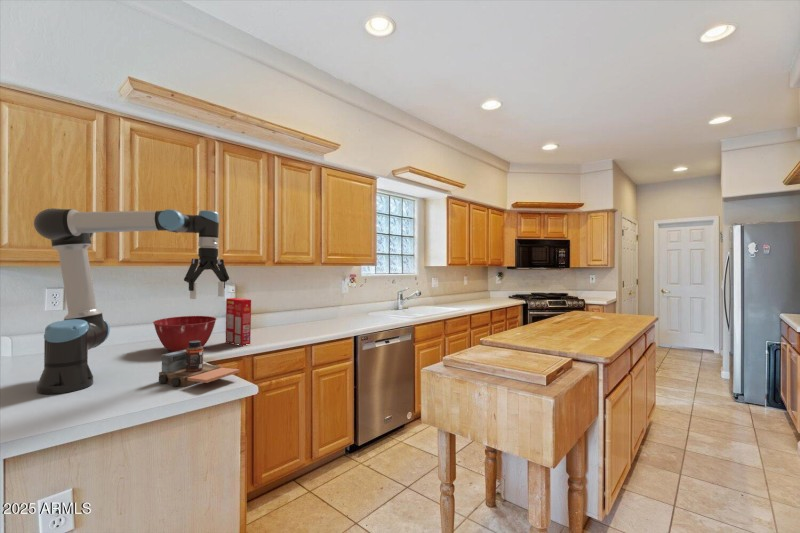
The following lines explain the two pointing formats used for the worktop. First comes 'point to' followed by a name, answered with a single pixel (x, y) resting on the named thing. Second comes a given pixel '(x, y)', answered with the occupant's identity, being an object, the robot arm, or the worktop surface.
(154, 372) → the worktop surface
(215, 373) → the tailgate
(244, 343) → the food packaging
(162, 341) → the mixing bowl
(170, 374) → the flatbed
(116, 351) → the worktop surface
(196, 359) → the supplement bottle
